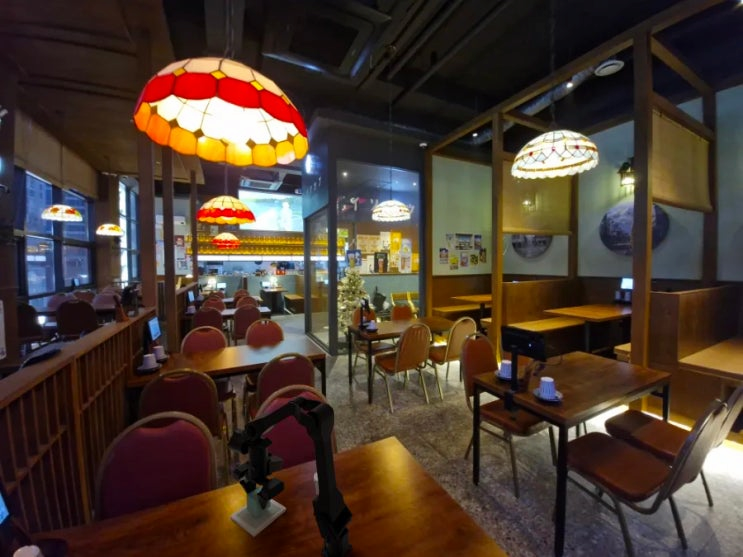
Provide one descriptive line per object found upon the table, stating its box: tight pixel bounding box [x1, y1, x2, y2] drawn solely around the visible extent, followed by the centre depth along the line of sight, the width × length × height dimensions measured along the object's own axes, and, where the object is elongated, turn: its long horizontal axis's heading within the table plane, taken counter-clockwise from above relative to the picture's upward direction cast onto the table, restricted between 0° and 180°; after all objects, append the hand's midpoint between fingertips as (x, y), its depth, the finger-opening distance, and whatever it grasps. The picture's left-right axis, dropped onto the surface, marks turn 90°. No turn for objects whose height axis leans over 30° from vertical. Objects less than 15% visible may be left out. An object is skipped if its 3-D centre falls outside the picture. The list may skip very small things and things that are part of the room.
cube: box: [246, 485, 270, 517], centre depth 100 cm, size 5×5×5 cm
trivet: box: [229, 498, 287, 537], centre depth 100 cm, size 12×12×1 cm
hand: (258, 505), depth 100 cm, fingers closed on cube, 5 cm apart
